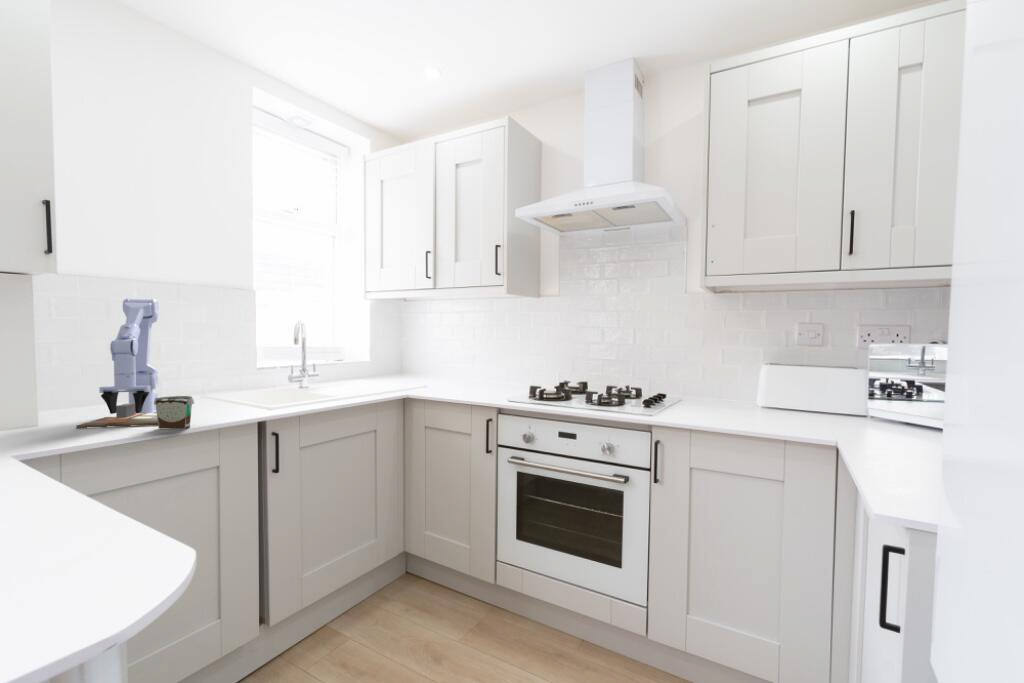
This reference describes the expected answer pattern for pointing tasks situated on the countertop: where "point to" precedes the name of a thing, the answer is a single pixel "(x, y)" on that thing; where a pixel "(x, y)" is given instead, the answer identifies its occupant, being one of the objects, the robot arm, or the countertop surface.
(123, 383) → the robot arm
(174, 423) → the food container
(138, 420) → the board
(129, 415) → the pink grey stepped block
